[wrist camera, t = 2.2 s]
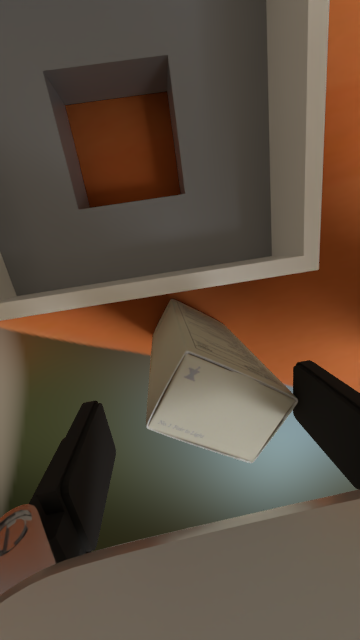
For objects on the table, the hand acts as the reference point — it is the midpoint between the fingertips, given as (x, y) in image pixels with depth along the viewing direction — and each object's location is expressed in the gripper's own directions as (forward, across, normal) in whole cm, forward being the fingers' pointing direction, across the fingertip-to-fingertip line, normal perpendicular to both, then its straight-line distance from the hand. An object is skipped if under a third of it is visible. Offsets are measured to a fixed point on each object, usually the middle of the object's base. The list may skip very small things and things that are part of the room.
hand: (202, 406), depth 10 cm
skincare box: (+12, -1, 0) cm, 12 cm away
